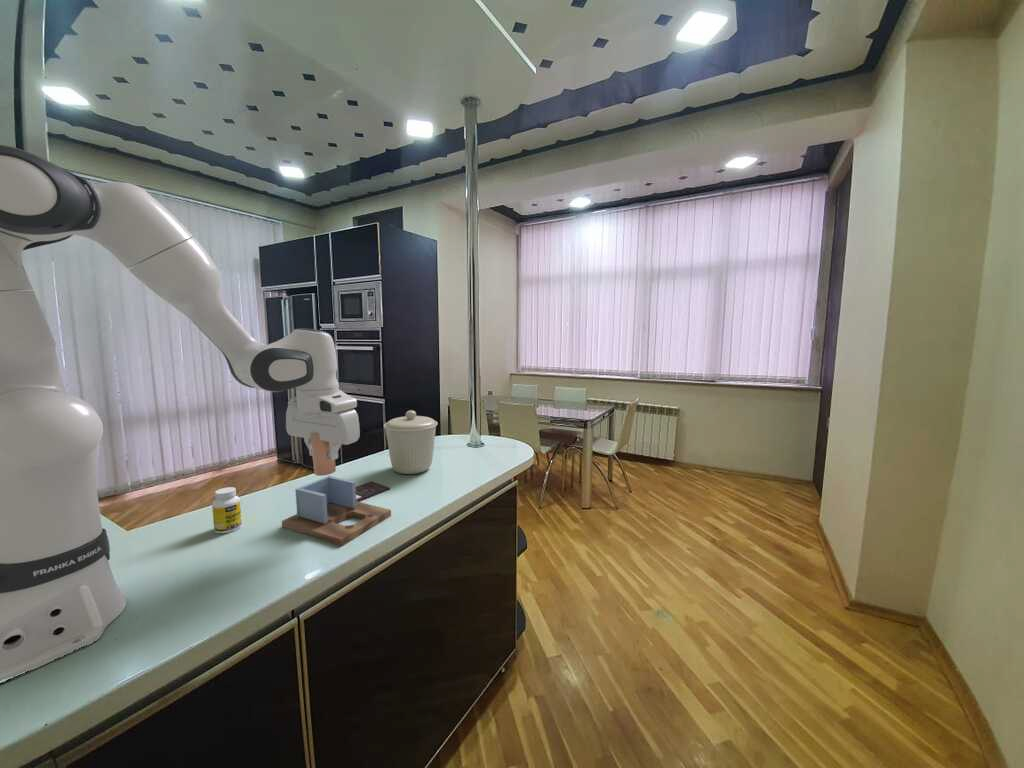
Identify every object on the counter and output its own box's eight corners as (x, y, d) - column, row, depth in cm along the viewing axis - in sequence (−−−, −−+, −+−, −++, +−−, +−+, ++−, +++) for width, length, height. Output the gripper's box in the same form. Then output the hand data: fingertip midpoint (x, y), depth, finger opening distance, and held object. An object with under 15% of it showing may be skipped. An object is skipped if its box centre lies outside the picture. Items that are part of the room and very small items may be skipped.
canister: (404, 458, 146) (403, 404, 143) (447, 464, 141) (446, 407, 138) (373, 475, 129) (371, 413, 126) (420, 482, 124) (419, 418, 121)
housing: (324, 523, 92) (322, 496, 91) (297, 515, 96) (295, 489, 95) (356, 506, 101) (355, 481, 100) (330, 500, 105) (329, 475, 104)
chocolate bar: (390, 487, 117) (334, 509, 103) (390, 490, 118) (335, 513, 103) (371, 481, 122) (316, 501, 108) (371, 484, 123) (316, 504, 108)
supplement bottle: (227, 535, 90) (223, 495, 89) (208, 532, 91) (204, 493, 90) (247, 524, 95) (244, 486, 94) (229, 522, 96) (226, 484, 95)
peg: (323, 476, 88) (320, 434, 86) (309, 473, 90) (305, 432, 88) (340, 469, 92) (336, 429, 90) (326, 466, 94) (322, 427, 92)
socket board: (342, 546, 86) (341, 539, 86) (282, 526, 94) (281, 520, 94) (391, 515, 101) (390, 509, 101) (335, 501, 109) (335, 495, 109)
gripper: (275, 398, 89) (281, 455, 92) (339, 406, 81) (344, 468, 83) (300, 393, 95) (305, 447, 97) (362, 400, 87) (366, 458, 89)
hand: (323, 457), depth 90 cm, fingers closed on peg, 5 cm apart
